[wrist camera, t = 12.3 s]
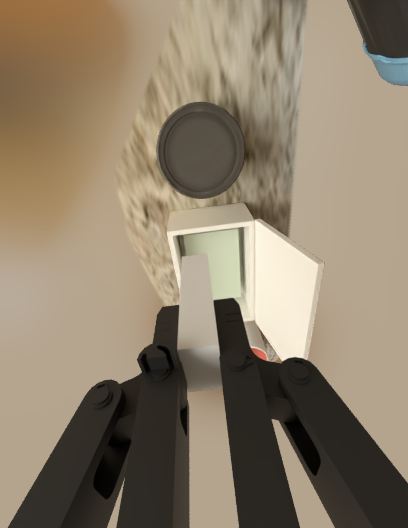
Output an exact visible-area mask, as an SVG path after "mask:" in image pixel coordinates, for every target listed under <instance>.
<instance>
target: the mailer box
mask: <svg viewBox="0 0 408 528" xmlns="http://www.w3.org/2000/svg"><path fill="white" fill-rule="evenodd" d="M167 236H168V240H169V245H170V249H171V254H172V259H173V263H174V268H175V272H176V277H177V282H178V286H179V291H180V283H181V263H182V257H183V256H191V255H198V254H206V253H207V256H208V263H209V271H210V279H211V287H212V295H213V300H218V299H226V298H234V299H235V300H236V301H237V302H238V303H239V305H240V309H241V314H242V317H243V321H244V322H245V321H253V320H255V220H254V219H253V217H252V215H251V214H250V212H249V210H248V208H247V207H246V205H245V203H244V202H242V203H235V204H227V205H219V206H212V207H204V208H196V209H189V210H181V211H173V212H170V217H169V222H168V228H167Z"/></svg>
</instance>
